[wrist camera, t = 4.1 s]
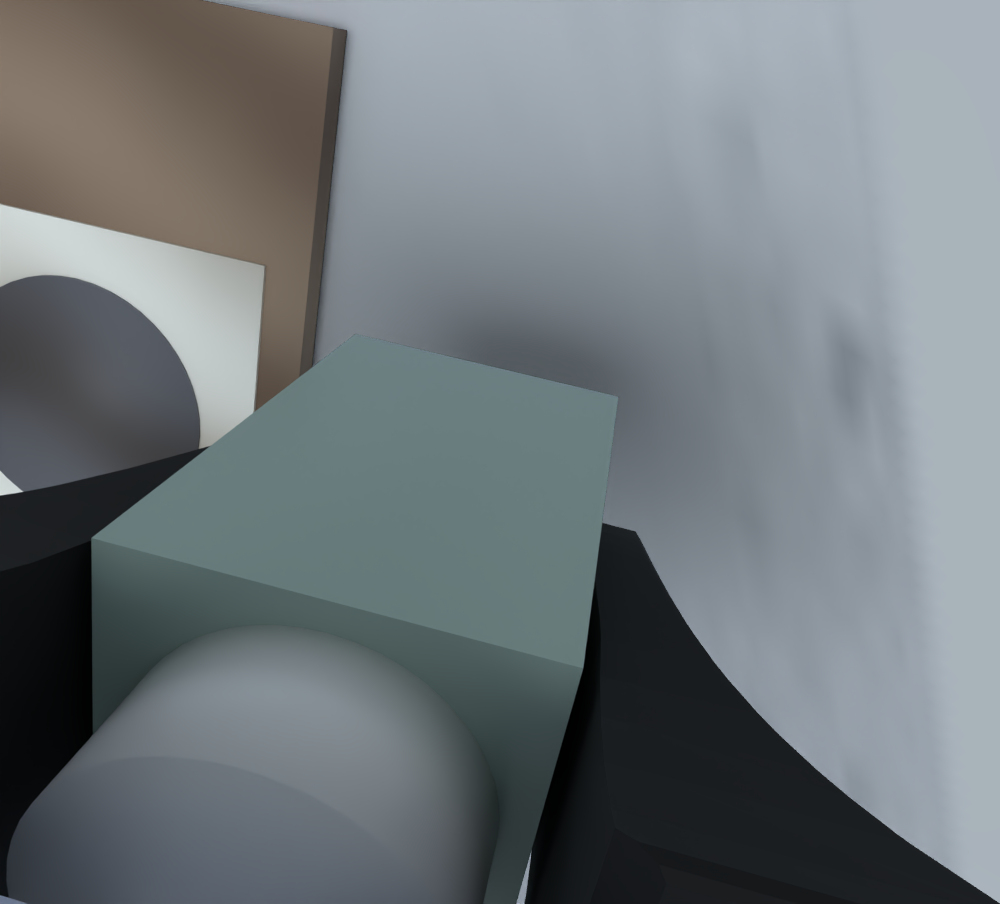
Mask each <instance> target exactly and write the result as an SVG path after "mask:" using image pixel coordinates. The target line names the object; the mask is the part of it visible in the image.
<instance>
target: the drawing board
mask: <svg viewBox="0 0 1000 904" xmlns="http://www.w3.org/2000/svg"><path fill="white" fill-rule="evenodd" d="M346 33H347V30H342V29H337V28H333V27H328V26H323V25H318V24H313V23H309V22H304V21H299V20H294V19H289V18H285V17H280V16H275V15H270V14H266V13H261V12H256V11H251V10H246V9H242V8H237V7H232V6H227V5H222V4H218V3H213V2H208V1H203V0H0V495H7V494H13V493H19V492H25V491H30V490H36V489H41V488H46V487H51V486H56V485H61V484H65V483H69V482H73V481H77V480H82V479H86V478H90V477H94V476H98V475H103V474H107V473H111V472H115V471H119V470H124V469H128V468H132V467H135V466H139V465H143V464H146V463H150V462H154V461H157V460H161V459H164V458H168V457H172V456H175V455H179V454H182V453H186V452H190V451H193V450H197V449H200V448H204V447H208V446H211V445H212V444H214V443H215V442H216V441H218V440H219V439H220V438H221V437H223V436H224V435H225V434H227V433H228V432H229V431H230V430H232V429H233V428H234V427H236V426H237V425H238V424H240V423H241V422H242V421H243V420H245V419H246V418H247V417H249V416H250V415H251V414H252V413H254V412H255V411H256V410H258V409H259V408H260V407H262V406H263V405H264V404H265V403H267V402H268V401H269V400H271V399H272V398H273V397H274V396H276V395H277V394H278V393H280V392H281V391H282V390H284V389H285V388H286V387H287V386H289V385H290V384H291V383H293V382H294V381H295V380H296V379H298V378H299V377H300V376H302V375H303V374H304V373H306V372H307V371H308V370H309V369H311V368H312V360H313V351H314V341H315V331H316V322H317V312H318V302H319V293H320V283H321V274H322V264H323V254H324V245H325V235H326V225H327V216H328V206H329V197H330V187H331V177H332V168H333V158H334V148H335V139H336V129H337V120H338V110H339V100H340V91H341V81H342V71H343V62H344V52H345V43H346Z"/></svg>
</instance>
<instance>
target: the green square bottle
mask: <svg viewBox="0 0 1000 904" xmlns="http://www.w3.org/2000/svg"><path fill="white" fill-rule="evenodd" d="M617 404H618V396H614V395H610V394H605V393H601V392H597V391H593V390H589V389H584V388H580V387H576V386H572V385H568V384H563V383H559V382H555V381H551V380H547V379H542V378H538V377H534V376H530V375H526V374H521V373H517V372H513V371H509V370H505V369H500V368H496V367H492V366H488V365H484V364H479V363H475V362H471V361H467V360H463V359H458V358H454V357H450V356H446V355H442V354H437V353H433V352H429V351H425V350H421V349H416V348H412V347H408V346H404V345H400V344H395V343H391V342H387V341H383V340H379V339H374V338H370V337H366V336H362V335H358V334H355V335H353V336H352V337H351V338H349V339H348V340H347V341H346V342H344V343H343V344H342V345H340V346H339V347H338V348H337V349H335V350H334V351H333V352H331V353H330V354H329V355H328V356H326V357H325V358H324V359H322V360H321V361H320V362H318V363H317V364H316V365H315V366H313V367H312V368H311V369H309V370H308V371H307V372H306V373H304V374H303V375H302V376H300V377H299V378H298V379H296V380H295V381H294V382H293V383H291V384H290V385H289V386H287V387H286V388H285V389H284V390H282V391H281V392H280V393H278V394H277V395H276V396H274V397H273V398H272V399H271V400H269V401H268V402H267V403H265V404H264V405H263V406H262V407H260V408H259V409H258V410H256V411H255V412H254V413H252V414H251V415H250V416H249V417H247V418H246V419H245V420H243V421H242V422H241V423H240V424H238V425H237V426H236V427H234V428H233V429H232V430H230V431H229V432H228V433H227V434H225V435H224V436H223V437H221V438H220V439H219V440H218V441H216V442H215V443H214V444H212V445H211V446H210V447H208V448H207V449H206V450H205V451H203V452H202V453H201V454H199V455H198V456H197V457H196V458H194V459H193V460H192V461H190V462H189V463H188V464H186V465H185V466H184V467H183V468H181V469H180V470H179V471H177V472H176V473H175V474H174V475H172V476H171V477H170V478H168V479H167V480H166V481H164V482H163V483H162V484H161V485H159V486H158V487H157V488H155V489H154V490H153V491H152V492H150V493H149V494H148V495H146V496H145V497H144V498H142V499H141V500H140V501H139V502H137V503H136V504H135V505H133V506H132V507H131V508H130V509H128V510H127V511H126V512H124V513H123V514H122V515H121V516H119V517H118V518H117V519H115V520H114V521H113V522H111V523H110V524H109V525H108V526H106V527H105V528H104V529H102V530H101V531H100V532H99V533H97V534H96V535H95V536H93V537H92V538H91V550H92V697H93V735H92V736H91V737H90V739H89V740H88V741H87V742H86V743H85V744H84V745H83V746H82V748H81V749H80V750H79V751H78V752H77V753H76V754H75V755H74V757H73V758H72V759H71V760H70V761H69V762H68V763H67V764H66V766H65V767H64V768H63V769H62V770H61V771H60V772H59V773H58V774H57V776H56V777H55V778H54V779H53V780H52V781H51V782H50V783H49V785H48V786H47V787H46V788H45V789H44V790H43V791H42V792H41V794H40V795H39V796H38V797H37V798H36V799H35V800H34V801H33V803H32V804H31V805H30V807H29V808H28V809H27V811H26V812H25V814H24V815H23V816H22V818H21V819H20V821H19V823H18V825H17V827H16V830H15V832H14V834H13V837H12V839H11V843H10V848H9V852H8V857H7V878H6V881H7V888H8V895H9V898H11V899H14V900H18V901H21V902H24V903H27V904H516V902H517V899H518V895H519V892H520V888H521V885H522V881H523V878H524V874H525V871H526V867H527V864H528V860H529V857H530V853H531V850H532V846H533V843H534V839H535V836H536V832H537V829H538V825H539V822H540V818H541V814H542V811H543V807H544V804H545V800H546V797H547V793H548V790H549V786H550V783H551V779H552V776H553V772H554V769H555V765H556V762H557V758H558V755H559V751H560V748H561V744H562V741H563V737H564V734H565V730H566V727H567V723H568V720H569V716H570V713H571V709H572V706H573V702H574V699H575V695H576V692H577V688H578V685H579V681H580V678H581V674H582V671H583V666H584V659H585V651H586V643H587V636H588V628H589V620H590V612H591V605H592V597H593V589H594V582H595V574H596V566H597V558H598V551H599V543H600V535H601V528H602V520H603V512H604V505H605V497H606V489H607V481H608V474H609V466H610V458H611V451H612V443H613V435H614V427H615V420H616V412H617Z"/></svg>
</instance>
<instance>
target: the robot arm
mask: <svg viewBox="0 0 1000 904" xmlns="http://www.w3.org/2000/svg"><path fill="white" fill-rule="evenodd" d="M208 447H210V446H208ZM208 447H204V448H200V449H197V450H193V451H190V452H186V453H182V454H179V455H175V456H172V457H168V458H164V459H161V460H157V461H154V462H150V463H146V464H143V465H139V466H135V467H132V468H128V469H124V470H119V471H115V472H111V473H107V474H103V475H98V476H94V477H90V478H86V479H82V480H77V481H73V482H69V483H65V484H61V485H56V486H51V487H46V488H41V489H36V490H30V491H25V492H19V493H13V494H7V495H0V904H27V903H24V902H21V901H18V900H14V899H11V898H9V895H8V888H7V881H6V878H7V857H8V852H9V848H10V843H11V839H12V837H13V834H14V832H15V830H16V827H17V825H18V823H19V821H20V819H21V818H22V816H23V815H24V814H25V812H26V811H27V809H28V808H29V807H30V805H31V804H32V803H33V801H34V800H35V799H36V798H37V797H38V796H39V795H40V794H41V792H42V791H43V790H44V789H45V788H46V787H47V786H48V785H49V783H50V782H51V781H52V780H53V779H54V778H55V777H56V776H57V774H58V773H59V772H60V771H61V770H62V769H63V768H64V767H65V766H66V764H67V763H68V762H69V761H70V760H71V759H72V758H73V757H74V755H75V754H76V753H77V752H78V751H79V750H80V749H81V748H82V746H83V745H84V744H85V743H86V742H87V741H88V740H89V739H90V737H91V736H92V735H93V697H92V550H91V538H92V537H93V536H95V535H96V534H97V533H99V532H100V531H101V530H102V529H104V528H105V527H106V526H108V525H109V524H110V523H111V522H113V521H114V520H115V519H117V518H118V517H119V516H121V515H122V514H123V513H124V512H126V511H127V510H128V509H130V508H131V507H132V506H133V505H135V504H136V503H137V502H139V501H140V500H141V499H142V498H144V497H145V496H146V495H148V494H149V493H150V492H152V491H153V490H154V489H155V488H157V487H158V486H159V485H161V484H162V483H163V482H164V481H166V480H167V479H168V478H170V477H171V476H172V475H174V474H175V473H176V472H177V471H179V470H180V469H181V468H183V467H184V466H185V465H186V464H188V463H189V462H190V461H192V460H193V459H194V458H196V457H197V456H198V455H199V454H201V453H202V452H203V451H205V450H206V449H207V448H208ZM525 904H1000V903H998V902H997V901H995V900H993V899H992V898H991V897H989V896H988V895H986V894H985V893H983V892H982V891H980V890H979V889H977V888H976V887H974V886H973V885H971V884H970V883H968V882H967V881H965V880H964V879H962V878H961V877H959V876H958V875H956V874H955V873H953V872H952V871H950V870H949V869H947V868H946V867H944V866H943V865H941V864H940V863H938V862H937V861H935V860H934V859H932V858H931V857H929V856H928V855H926V854H925V853H923V852H922V851H920V850H919V849H917V848H916V847H914V846H913V845H911V844H910V843H908V842H907V841H906V840H904V839H903V838H901V837H900V836H899V835H897V834H896V833H895V832H893V831H892V830H891V829H890V828H888V827H887V826H886V825H884V824H883V823H882V822H880V821H879V820H878V819H877V818H875V817H874V816H873V815H871V814H870V813H869V812H868V811H866V810H865V809H864V808H862V807H861V806H860V805H858V804H857V803H856V802H855V801H853V800H852V799H851V798H849V797H848V796H847V795H846V794H845V793H843V792H842V791H841V790H840V789H839V788H838V787H836V786H835V785H834V784H833V783H832V782H830V781H829V780H828V779H827V778H826V777H824V776H823V775H822V774H821V773H820V772H819V771H817V770H816V769H815V768H814V767H813V766H812V765H811V764H810V763H809V762H808V761H807V760H806V759H804V758H803V757H802V756H801V755H800V754H799V753H798V752H797V751H796V750H795V749H794V748H793V747H792V746H790V745H789V744H788V743H787V742H786V741H785V740H784V739H783V738H782V737H781V736H780V735H779V734H778V733H777V732H776V731H775V730H774V729H773V728H772V727H771V726H770V725H769V724H768V723H767V722H766V721H765V720H764V719H763V718H762V717H761V716H760V715H759V714H758V713H757V712H756V711H755V710H754V708H753V707H752V706H751V705H750V704H749V703H748V702H747V700H746V699H745V698H744V697H743V696H742V695H741V694H740V693H739V691H738V690H737V689H736V688H735V687H734V686H733V685H732V684H731V682H730V681H729V680H728V679H727V678H726V676H725V675H724V674H723V673H722V672H721V670H720V669H719V668H718V667H717V665H716V664H715V663H714V661H713V660H712V659H711V657H710V656H709V655H708V653H707V652H706V650H705V649H704V648H703V646H702V645H701V643H700V642H699V641H698V639H697V638H696V637H695V635H694V634H693V632H692V631H691V629H690V628H689V626H688V625H687V623H686V622H685V620H684V619H683V617H682V615H681V614H680V612H679V610H678V609H677V607H676V605H675V604H674V602H673V600H672V599H671V597H670V595H669V594H668V592H667V590H666V588H665V586H664V585H663V583H662V581H661V579H660V577H659V575H658V573H657V572H656V570H655V568H654V566H653V564H652V562H651V560H650V558H649V556H648V554H647V552H646V550H645V548H644V546H643V544H642V542H641V540H640V538H639V537H638V535H637V533H636V532H635V531H631V530H627V529H623V528H619V527H615V526H611V525H607V524H603V523H602V528H601V535H600V543H599V551H598V558H597V566H596V574H595V582H594V589H593V597H592V605H591V612H590V620H589V628H588V636H587V643H586V651H585V659H584V666H583V671H582V674H581V678H580V681H579V685H578V688H577V692H576V695H575V699H574V702H573V706H572V709H571V713H570V716H569V720H568V723H567V727H566V730H565V734H564V737H563V741H562V744H561V748H560V751H559V755H558V758H557V762H556V765H555V769H554V772H553V776H552V779H551V783H550V786H549V790H548V793H547V797H546V800H545V804H544V807H543V811H542V814H541V818H540V822H539V825H538V829H537V832H536V836H535V839H534V843H533V846H532V851H531V862H530V869H529V877H528V885H527V893H526V899H525Z"/></svg>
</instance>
